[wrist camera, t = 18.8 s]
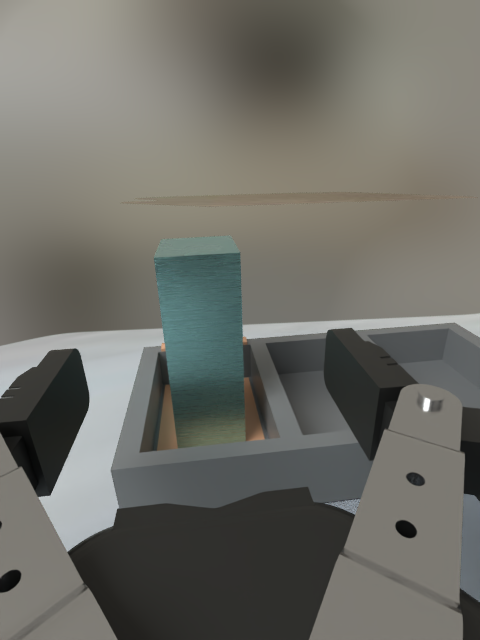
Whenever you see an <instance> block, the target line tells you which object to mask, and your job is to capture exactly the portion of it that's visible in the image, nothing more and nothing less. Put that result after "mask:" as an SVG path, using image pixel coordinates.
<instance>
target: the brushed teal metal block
mask: <svg viewBox="0 0 480 640" xmlns="http://www.w3.org/2000/svg"><path fill="white" fill-rule="evenodd" d="M154 261H155V269H156V278H157V286H158V294H159V301H160V310H161V317H162V326H163V334H164V342H165V350H166V358H167V366H168V374H169V382H170V390H171V398H172V406H173V414H174V422H175V430H176V438H177V446H178V449H179V448H188V447H198V446H207V445H216V444H226V443H235V442H244V441H246V432H245V399H244V365H243V332H242V298H241V266H240V252H239V250H238V248H237V246H236V244H235V243H234V241H233V239H232V237H231V236H216V237H215V236H214V237H195V238H177V239H162V240H161V242H160V244H159V247H158V249H157V251H156V254H155V256H154Z"/></svg>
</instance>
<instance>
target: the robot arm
mask: <svg viewBox="0 0 480 640" xmlns="http://www.w3.org/2000/svg"><path fill="white" fill-rule="evenodd" d="M324 381H325V385H326V388H327V390H328V392H329V393H330V395H331V397H332V399H333V400H334V402H335V404H336V405H337V407H338V409H339V410H340V412H341V414H342V415H343V417H344V419H345V421H346V422H347V424H348V426H349V427H350V429H351V431H352V432H353V434H354V436H355V438H356V439H357V441H358V443H359V444H360V446H361V448H362V449H363V451H364V453H365V454H366V456H367V458H368V460H369V461H373V464H372V467H371V470H370V473H369V476H368V479H367V482H366V485H365V488H364V491H363V494H362V497H361V500H360V503H359V506H358V509H357V512H356V514H355V515H354V514H352V513H350V512H348V511H345V510H343V509H341V508H338V507H335V506H332V505H328V504H323V503H318V502H313V499H312V497H311V494H310V491H309V488H308V487H300V488H292V489H283V490H274V491H266V492H261V493H258V494H255V495H253V496H250V497H247V498H244V499H241V500H239V501H236V502H233V503H230V504H227V505H224V506H222V507H218V508H205V507H196V506H187V505H178V504H169V503H163V504H154V505H146V506H137V507H129V508H120V509H117V513H116V517H115V522H114V526H112V527H110V528H107V529H105V530H102V531H100V532H98V533H96V534H94V535H92V536H91V537H89V538H87V539H85V540H84V541H82V542H81V543H79V544H78V545H76V546H75V547H73V548H72V549H71V550H69V551H68V552H67V551H66V549H65V547H64V545H63V543H62V541H61V540H60V538H59V536H58V534H57V532H56V530H55V528H54V526H53V525H52V523H51V521H50V519H49V517H48V515H47V513H46V511H45V509H44V508H43V506H42V504H41V502H40V500H39V498H38V497H41V496H50V495H51V493H52V491H53V488H54V486H55V484H56V482H57V479H58V477H59V475H60V472H61V470H62V468H63V466H64V463H65V461H66V459H67V457H68V454H69V452H70V450H71V447H72V445H73V443H74V441H75V438H76V436H77V434H78V432H79V429H80V427H81V425H82V423H83V420H84V418H85V416H86V413H87V411H88V408H89V390H88V386H87V381H86V377H85V373H84V368H83V364H82V360H81V356H80V353H79V351H78V350H77V349H63V350H51V351H49V352H48V353H47V355H46V356H45V357H44V359H43V360H42V361H41V362H40V364H39V365H38V366H37V367H32V368H31V369H29V370H28V371H26V372H25V373H23V374H22V375H20V376H19V377H17V379H16V380H15V381H14V382H13V383H12V384H11V386H10V387H9V390H6V392H5V393H4V394H3V395H2V396H1V397H2V398H1V399H0V640H480V602H478V601H477V600H476V599H474V598H473V597H471V596H470V595H469V594H467V593H466V592H464V591H463V590H462V589H460V568H461V543H462V518H463V493H464V494H470V495H475V496H476V497H477V499H478V500H479V501H480V409H479V408H469V407H462V403H461V401H460V400H459V399H458V398H457V397H456V396H455V395H453V394H452V393H450V392H448V391H447V390H444V389H442V388H439V387H436V386H432V385H427V384H419V383H418V382H417V381H416V380H415V379H414V378H413V377H412V376H411V375H409V374H408V373H407V372H406V371H405V370H404V369H403V368H402V367H401V366H400V365H398V363H397V362H396V361H395V360H394V359H393V358H391V356H390V355H389V354H388V353H387V352H386V351H385V350H384V349H383V348H382V347H380V346H377V345H375V344H373V343H371V342H369V341H364V340H363V339H362V338H361V337H360V336H359V335H358V334H357V333H356V332H355V331H354V330H353V329H352V328H345V329H332V330H328V332H327V335H326V345H325V359H324Z"/></svg>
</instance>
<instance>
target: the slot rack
mask: <svg viewBox="0 0 480 640" xmlns="http://www.w3.org/2000/svg"><path fill="white" fill-rule="evenodd" d="M355 332H356V333H357V334H358V335H359V336H360V337H361V338H362V339H363V340H364V341H369V342H371V343H373V344H375V345H377V346H380V347H382V348H383V349H384V350H385V351H386V352H387V353H388V354H389V355H390V356H391V358H393V359H394V360H395V361H396V362H397V363H398V365H400V366H401V367H402V368H403V369H404V370H405V371H406V372H407V373H408V374H409V375H411V376H412V377H413V378H414V379H415V380H416V381H417V382H418V383H419V384H427V385H432V386H436V387H439V388H442V389H444V390H447V391H448V392H450V393H452V394H453V395H455V396H456V397H457V398H458V399H459V400H460V401H461V403H462V407H469V408H479V409H480V338H479V337H478V336H476V335H474V334H473V333H471V332H469V331H468V330H466V329H464V328H463V327H461V326H459V325H458V324H456V323H445V324H433V325H420V326H408V327H395V328H383V329H370V330H358V331H355ZM326 335H327V333H320V334H307V335H295V336H282V337H270V338H257V339H246V337H243V365H244V399H245V432H246V441H244V442H235V443H226V444H216V445H207V446H198V447H188V448H179V449H178V446H177V438H176V430H175V422H174V414H173V406H172V398H171V390H170V382H169V374H168V366H167V358H166V350H165V343H162V346H157V347H144V349H143V353H142V357H141V360H140V364H139V368H138V371H137V375H136V379H135V382H134V386H133V390H132V394H131V397H130V401H129V405H128V408H127V412H126V416H125V419H124V423H123V427H122V430H121V434H120V438H119V442H118V445H117V449H116V453H115V456H114V460H113V464H112V467H111V473H112V478H113V482H114V487H115V491H116V496H117V500H118V505H119V509H120V508H129V507H137V506H146V505H154V504H163V503H169V504H178V505H187V506H196V507H205V508H218V507H222V506H224V505H227V504H230V503H233V502H236V501H239V500H241V499H244V498H247V497H250V496H253V495H255V494H258V493H261V492H266V491H274V490H283V489H292V488H300V487H308V488H309V491H310V494H311V497H312V499H313V502H318V503H326V502H334V501H342V500H350V499H358V498H361V497H362V494H363V491H364V488H365V485H366V482H367V479H368V476H369V473H370V470H371V467H372V464H373V461H369V460H368V458H367V456H366V454H365V453H364V451H363V449H362V448H361V446H360V444H359V443H358V441H357V439H356V438H355V436H354V434H353V432H352V431H351V429H350V427H349V426H348V424H347V422H346V421H345V419H344V417H343V415H342V414H341V412H340V410H339V409H338V407H337V405H336V404H335V402H334V400H333V399H332V397H331V395H330V393H329V392H328V390H327V388H326V385H325V381H324V359H325V345H326Z"/></svg>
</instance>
